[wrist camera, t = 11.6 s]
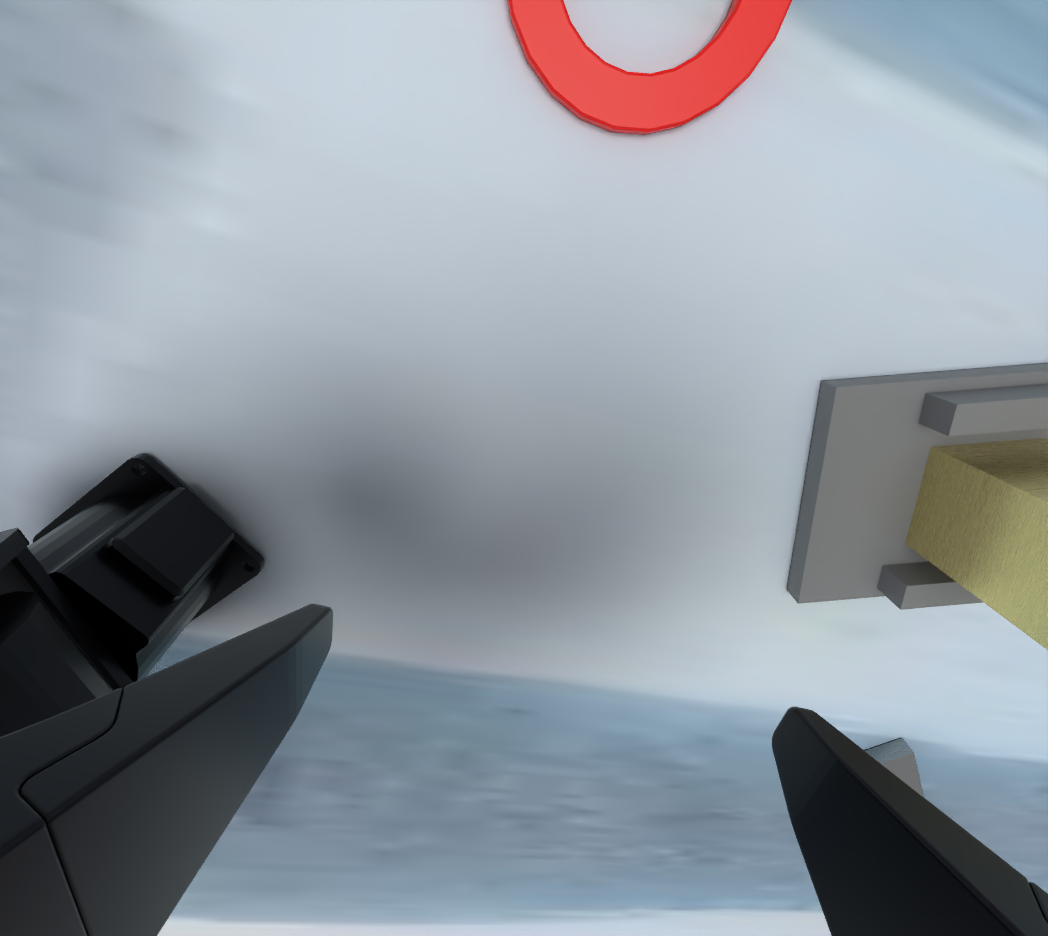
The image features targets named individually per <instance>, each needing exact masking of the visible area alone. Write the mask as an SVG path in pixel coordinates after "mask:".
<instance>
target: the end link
mask: <svg viewBox="0 0 1048 936" xmlns="http://www.w3.org/2000/svg"><path fill="white" fill-rule="evenodd" d="M905 544H906V545H908V546H909V547H910V548H912V549H913V550H914V551H916V552H917V553H918V554H920V555H921V556H922V557H924V558H925V559H926V560H928V561H929V562H931V563H932V564H933V565H935V566H936V567H937V568H939V569H940V570H941V571H943V572H944V573H945V574H947V575H948V576H949V577H951V578H952V579H953V580H955V581H956V582H957V583H959V584H960V585H961V586H963V587H964V588H965V589H967V590H968V591H969V592H971V593H972V594H973V595H975V596H976V597H977V598H979V599H980V600H981V601H983V602H984V603H985V604H987V605H988V606H989V607H991V608H992V609H993V610H995V611H996V612H997V613H999V614H1000V615H1001V616H1003V617H1004V618H1005V619H1007V620H1008V621H1009V622H1011V623H1012V624H1013V625H1015V626H1016V627H1017V628H1019V629H1020V630H1022V631H1023V632H1024V633H1026V634H1027V635H1028V636H1030V637H1031V638H1032V639H1034V640H1035V641H1036V642H1038V643H1039V644H1040V645H1042V646H1043V647H1044V648H1046V649H1047V650H1048V440H1047V439H1044V438H1033V439H1021V440H1008V441H995V442H983V443H970V444H957V445H945V446H932V447H931V449H930V453H929V456H928V460H927V464H926V468H925V471H924V475H923V479H922V482H921V486H920V490H919V494H918V497H917V501H916V505H915V509H914V512H913V516H912V520H911V524H910V527H909V531H908V535H907V539H906V542H905Z"/></svg>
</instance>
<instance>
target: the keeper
mask: <svg viewBox="0 0 1048 936" xmlns="http://www.w3.org/2000/svg"><path fill="white" fill-rule="evenodd" d="M1033 438H1044V439H1047V440H1048V363H1040V364H1027V365H1015V366H1002V367H989V368H976V369H964V370H951V371H938V372H926V373H913V374H900V375H887V376H875V377H862V378H849V379H837V380H824V381H821V387H820V393H819V399H818V405H817V411H816V417H815V423H814V429H813V435H812V441H811V447H810V453H809V459H808V466H807V472H806V478H805V484H804V490H803V496H802V502H801V508H800V514H799V520H798V526H797V532H796V538H795V544H794V550H793V556H792V562H791V568H790V574H789V580H788V586H787V591H788V592H789V593H790V594H791V595H792V597H793V598H794V599H795V600H796V601H797V603H809V602H821V601H833V600H844V599H856V598H868V597H879V596H886V597H887V598H889V599H890V600H891V601H892V602H893V603H894V604H895V605H896V606H897V607H898V608H899V609H912V608H924V607H935V606H947V605H958V604H970V603H981V602H983V601H981V600H980V599H979V598H977V597H976V596H975V595H973V594H972V593H971V592H969V591H968V590H967V589H965V588H964V587H963V586H961V585H960V584H959V583H957V582H956V581H955V580H953V579H952V578H951V577H949V576H948V575H947V574H945V573H944V572H943V571H941V570H940V569H939V568H937V567H936V566H935V565H933V564H932V563H931V562H929V561H928V560H926V559H925V558H924V557H922V556H921V555H920V554H918V553H917V552H916V551H914V550H913V549H912V548H910V547H909V546H908V545H906V544H905V542H906V539H907V535H908V531H909V527H910V524H911V520H912V516H913V512H914V509H915V505H916V501H917V497H918V494H919V490H920V486H921V482H922V479H923V475H924V471H925V468H926V464H927V460H928V456H929V453H930V449H931V447H932V446H945V445H957V444H970V443H983V442H995V441H1008V440H1021V439H1033Z"/></svg>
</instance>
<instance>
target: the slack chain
mask: <svg viewBox="0 0 1048 936" xmlns="http://www.w3.org/2000/svg"><path fill="white" fill-rule="evenodd" d="M865 752H867V753H868V754H869V755H870V756H872V757H873V758H874V759H875V760H877V761H878V762H879V763H881V764H882V765H883V766H884V767H886V768H887V769H888V770H889V771H891V772H892V773H893V774H895V775H896V776H897V777H898V778H900V779H901V780H902V781H903V782H905V783H906V784H907V785H909V786H910V787H911V788H912V789H914V790H915V791H916V792H917V793H919V794H920V795H921V796H923V797H924V795H923V790H922V786H921V782H920V777H919V773H918V769H917V764H916V760H915V756H914V752H913V751H912V750H911V748H910V747H909V746H908V745H907V744H906V742H905V741H904V740H903V739H902V738H900V739H897V740H894V741H891V742H889V743H886V744H883V745H880V746H877V747H874V748H871V749H868V750H865Z"/></svg>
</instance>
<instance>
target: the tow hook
mask: <svg viewBox="0 0 1048 936" xmlns="http://www.w3.org/2000/svg"><path fill="white" fill-rule="evenodd" d="M791 2H792V0H733V2H732V4H731V7H730V9H729V12H728V14H727V17H726V18H725V20H724V21H723V23H722V24H721V26H720V27H719V29H718V31H717V32H716V34H715V35H714V37H713V38H712V40H711V41H710V42H709V43H708V44H707V45H706V46H705V47H704V48H703V49H702V50H701V51H700V52H699V53H698V54H697V55H696V56H695V57H693V58H691V59H690V60H688V61H686V62H684V63H683V64H681V65H679V66H677V67H676V68H673V69H669V70H665V71H660V72H656V73H652V74H648V73H636V72H627V71H625V70H622V69H620V68H618V67H615V66H613V65H611V64H608V63H606V62H605V61H604V60H602V59H601V58H600V57H599V56H598V55H597V54H596V53H594V52H593V51H592V50H591V49H590V48H589V47H587V46H586V44H585V43H584V41H583V40H582V38H581V37H580V35H579V34H578V32H577V31H576V29H575V27H574V26H573V24H572V23H571V21H570V18H569V15H568V12H567V10H566V7H565V4H564V1H563V0H508V6H509V12H510V18H511V23H512V25H513V28H514V30H515V33H516V35H517V38H518V40H519V43H520V45H521V48H522V50H523V53H524V55H525V58H526V60H527V63H528V64H529V66H530V67H531V68H532V70H533V71H534V73H535V74H536V75H537V77H538V78H539V80H540V81H541V82H542V84H543V85H544V87H545V88H546V90H547V91H548V92H549V94H550V95H551V96H552V97H553V98H554V99H556V100H557V101H558V102H559V103H560V104H562V105H563V106H564V107H565V108H567V109H568V110H569V111H570V112H571V113H573V114H574V115H575V116H576V117H578V118H579V119H581V120H583V121H586V122H588V123H590V124H593V125H595V126H598V127H600V128H603V129H605V130H607V131H610V132H617V133H630V134H642V135H645V134H650V133H654V132H658V131H663V130H667V129H671V128H676V127H679V126H681V125H683V124H685V123H687V122H689V121H691V120H693V119H694V118H696V117H698V116H700V115H702V114H703V113H705V112H707V111H709V110H711V109H712V108H714V107H716V106H718V105H719V104H720V103H721V102H722V101H723V100H724V99H726V98H727V97H728V96H729V95H730V94H731V93H732V92H733V91H734V90H735V89H736V88H737V87H738V86H740V85H741V84H742V83H743V82H744V81H745V80H746V79H747V78H748V77H749V76H750V75H751V73H752V72H753V70H754V69H755V67H756V66H757V65H758V63H759V62H760V60H761V59H762V57H763V56H764V54H765V53H766V52H767V50H768V49H769V47H770V46H771V44H772V43H773V41H774V40H775V39H776V36H777V34H778V32H779V29H780V27H781V25H782V22H783V20H784V18H785V16H786V13H787V11H788V9H789V6H790V4H791Z"/></svg>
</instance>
